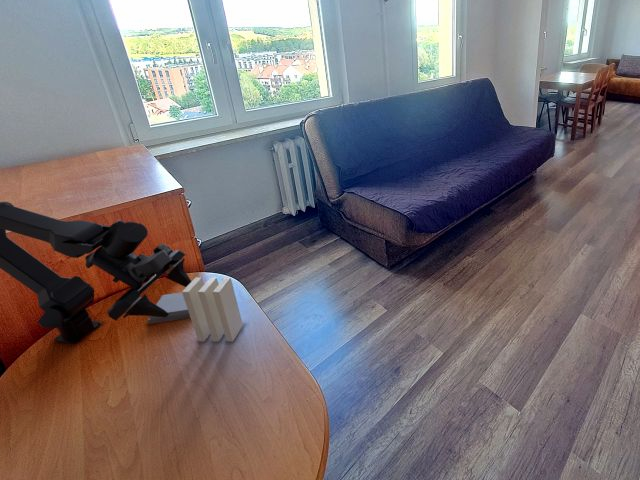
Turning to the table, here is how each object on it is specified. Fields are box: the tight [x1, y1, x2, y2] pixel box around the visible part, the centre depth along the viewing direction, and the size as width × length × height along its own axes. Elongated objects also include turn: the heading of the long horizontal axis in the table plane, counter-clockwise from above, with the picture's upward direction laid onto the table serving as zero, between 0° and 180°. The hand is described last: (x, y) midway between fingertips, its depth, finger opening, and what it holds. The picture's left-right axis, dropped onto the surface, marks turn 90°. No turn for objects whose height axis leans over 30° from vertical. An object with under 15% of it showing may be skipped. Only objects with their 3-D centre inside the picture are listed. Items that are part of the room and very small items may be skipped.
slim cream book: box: [181, 276, 211, 342], centre depth 84 cm, size 2×5×16 cm, turn 0°
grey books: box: [147, 291, 191, 325], centre depth 93 cm, size 11×8×3 cm
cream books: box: [198, 276, 244, 342], centre depth 84 cm, size 5×5×16 cm
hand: (181, 301), depth 83 cm, fingers open, 9 cm apart
